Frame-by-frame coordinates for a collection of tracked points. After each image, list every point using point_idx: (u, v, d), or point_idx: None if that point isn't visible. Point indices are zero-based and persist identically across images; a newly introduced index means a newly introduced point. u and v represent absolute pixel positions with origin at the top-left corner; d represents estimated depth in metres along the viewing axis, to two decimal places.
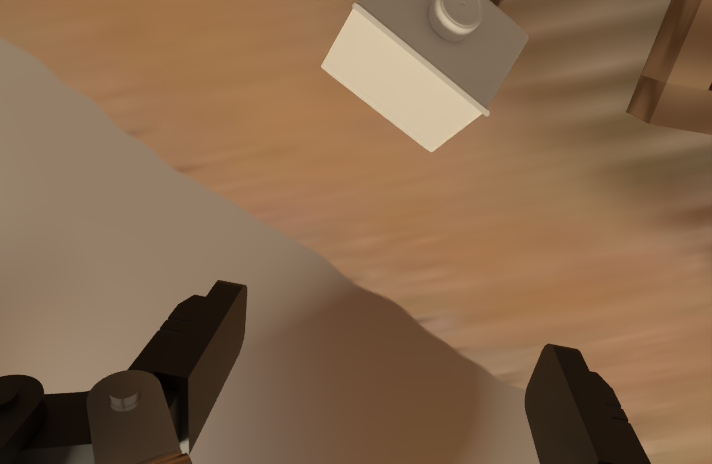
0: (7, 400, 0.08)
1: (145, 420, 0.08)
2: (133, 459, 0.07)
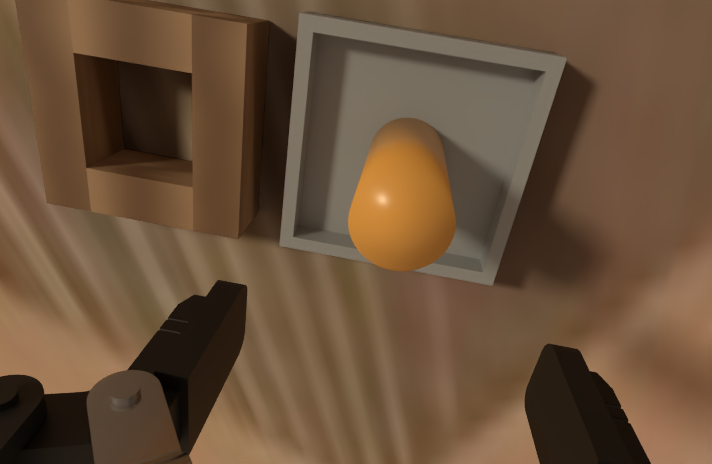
0: (7, 400, 0.08)
1: (145, 420, 0.08)
2: (133, 459, 0.07)
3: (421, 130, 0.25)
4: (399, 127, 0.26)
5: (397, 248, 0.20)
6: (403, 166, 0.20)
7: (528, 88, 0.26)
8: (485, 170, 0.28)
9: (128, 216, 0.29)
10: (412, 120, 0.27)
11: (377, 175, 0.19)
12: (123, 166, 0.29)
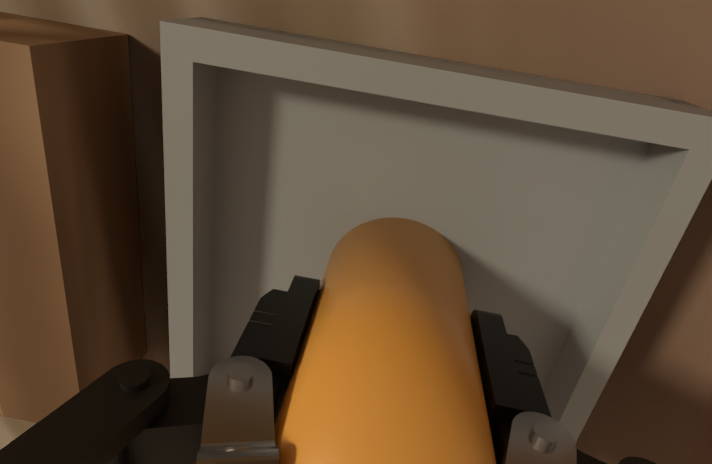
0: (138, 384, 0.09)
1: (264, 401, 0.09)
2: (233, 438, 0.08)
3: (422, 261, 0.12)
4: (377, 252, 0.13)
5: None
6: None
7: (632, 171, 0.13)
8: (538, 309, 0.16)
9: None
10: (404, 227, 0.14)
11: None
12: None
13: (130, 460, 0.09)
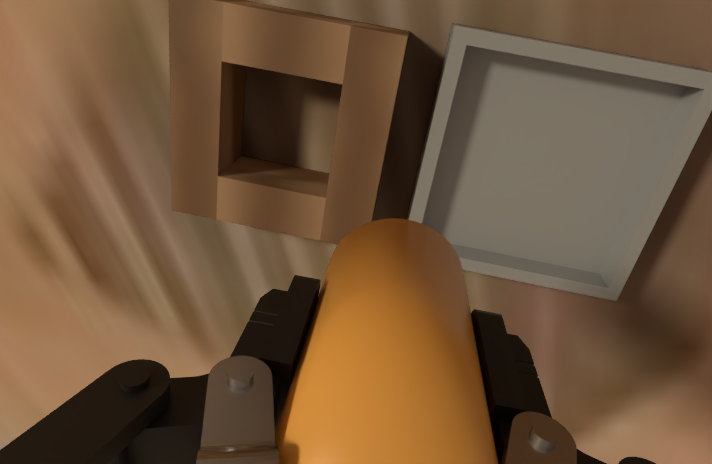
0: (138, 384, 0.09)
1: (264, 401, 0.09)
2: (233, 438, 0.08)
3: (423, 262, 0.12)
4: (379, 253, 0.13)
5: None
6: None
7: (674, 104, 0.26)
8: (617, 185, 0.28)
9: (254, 225, 0.29)
10: (405, 228, 0.14)
11: None
12: (250, 174, 0.29)
13: (130, 460, 0.09)
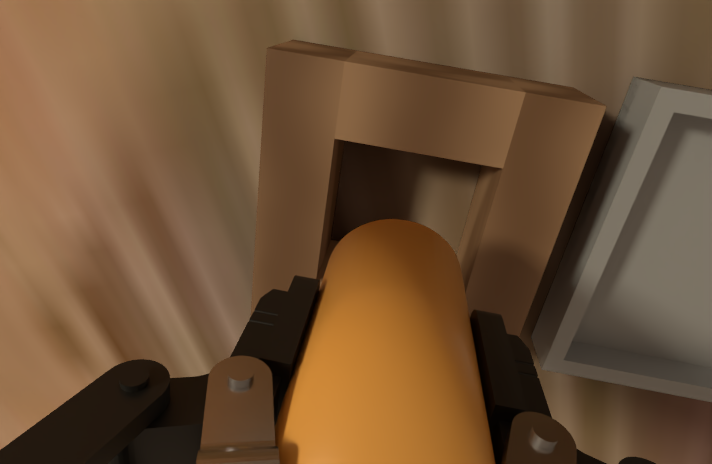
0: (138, 383, 0.09)
1: (264, 401, 0.09)
2: (233, 438, 0.08)
3: (421, 263, 0.12)
4: (377, 254, 0.13)
5: None
6: None
7: None
8: None
9: None
10: (403, 229, 0.14)
11: None
12: None
13: (130, 460, 0.09)
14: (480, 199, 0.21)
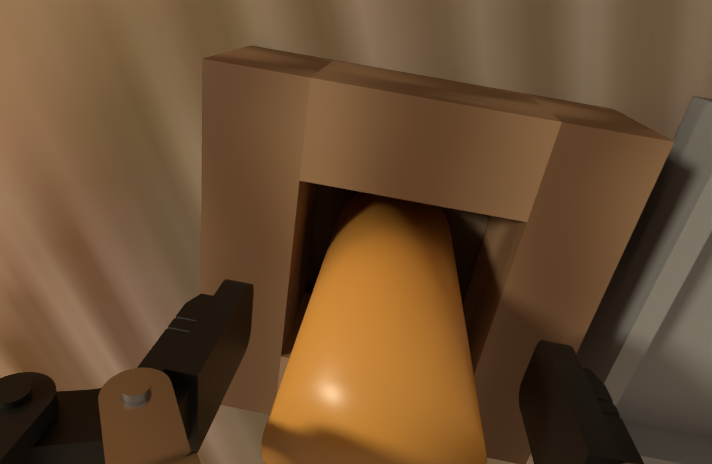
0: (20, 397, 0.08)
1: (156, 417, 0.08)
2: (142, 456, 0.07)
3: (415, 214, 0.15)
4: (379, 208, 0.15)
5: None
6: (376, 342, 0.09)
7: None
8: None
9: None
10: None
11: (320, 364, 0.09)
12: None
13: None
14: (492, 252, 0.16)
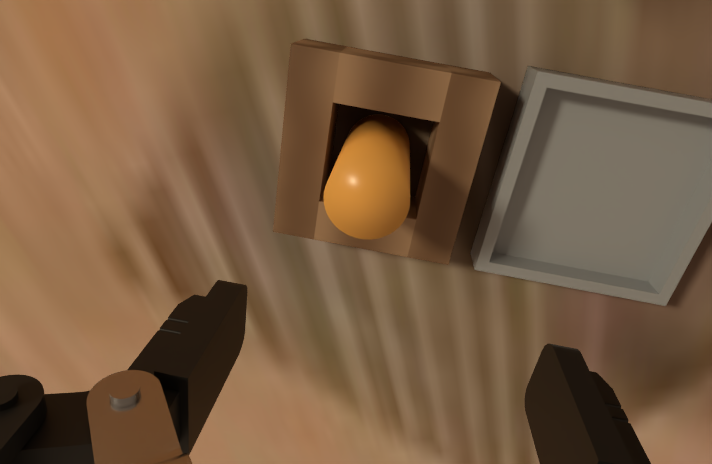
0: (7, 400, 0.08)
1: (145, 420, 0.08)
2: (133, 459, 0.07)
3: (388, 125, 0.30)
4: (370, 122, 0.30)
5: (363, 220, 0.25)
6: (368, 153, 0.24)
7: None
8: (668, 204, 0.32)
9: (348, 244, 0.32)
10: (382, 116, 0.32)
11: (347, 160, 0.24)
12: None
13: None
14: (429, 147, 0.31)
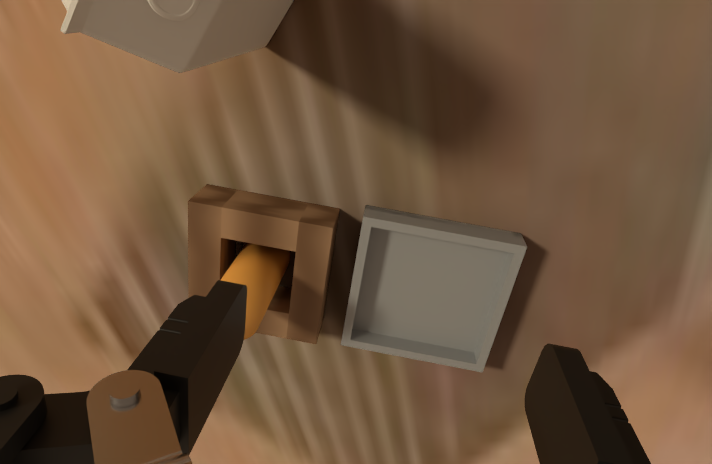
0: (7, 400, 0.08)
1: (145, 420, 0.08)
2: (133, 459, 0.07)
3: (265, 247, 0.42)
4: (253, 244, 0.42)
5: None
6: None
7: (504, 255, 0.41)
8: (477, 300, 0.44)
9: None
10: None
11: None
12: None
13: None
14: None
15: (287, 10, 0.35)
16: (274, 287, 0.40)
